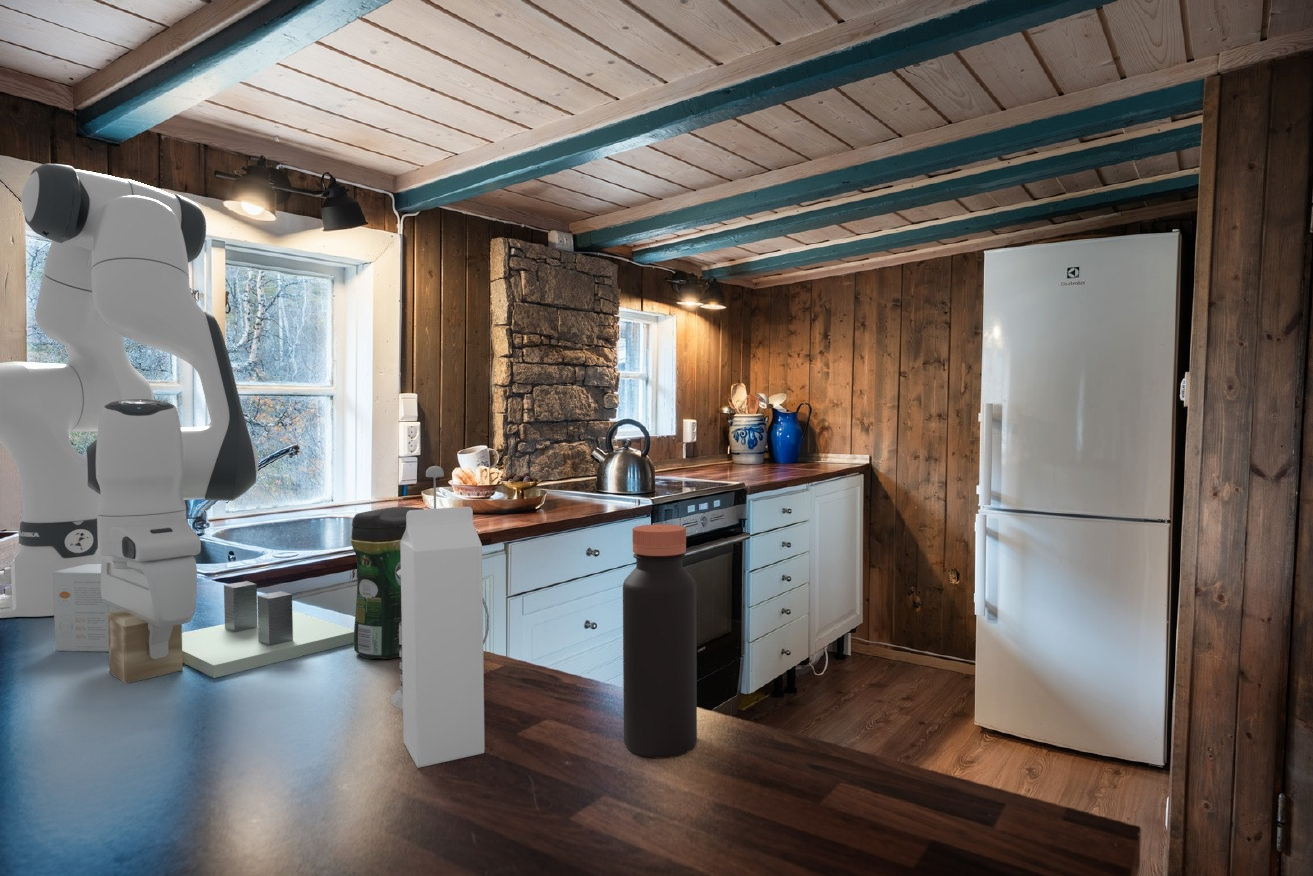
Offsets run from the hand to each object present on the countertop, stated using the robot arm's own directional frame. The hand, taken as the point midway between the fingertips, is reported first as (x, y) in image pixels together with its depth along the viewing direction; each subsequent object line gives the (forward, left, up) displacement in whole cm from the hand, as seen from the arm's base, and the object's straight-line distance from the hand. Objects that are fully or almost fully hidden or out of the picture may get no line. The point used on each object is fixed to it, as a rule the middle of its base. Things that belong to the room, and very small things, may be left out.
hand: (146, 651), depth 92 cm
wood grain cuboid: (0, 0, -2) cm, 2 cm away
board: (0, +13, -2) cm, 13 cm away
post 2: (+5, +13, -2) cm, 14 cm away
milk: (+46, +9, -3) cm, 47 cm away
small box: (-17, 0, -3) cm, 17 cm away
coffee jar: (+16, +23, -3) cm, 28 cm away
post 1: (-5, +13, -2) cm, 14 cm away
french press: (+35, +17, -3) cm, 39 cm away
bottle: (+61, +22, -3) cm, 65 cm away
